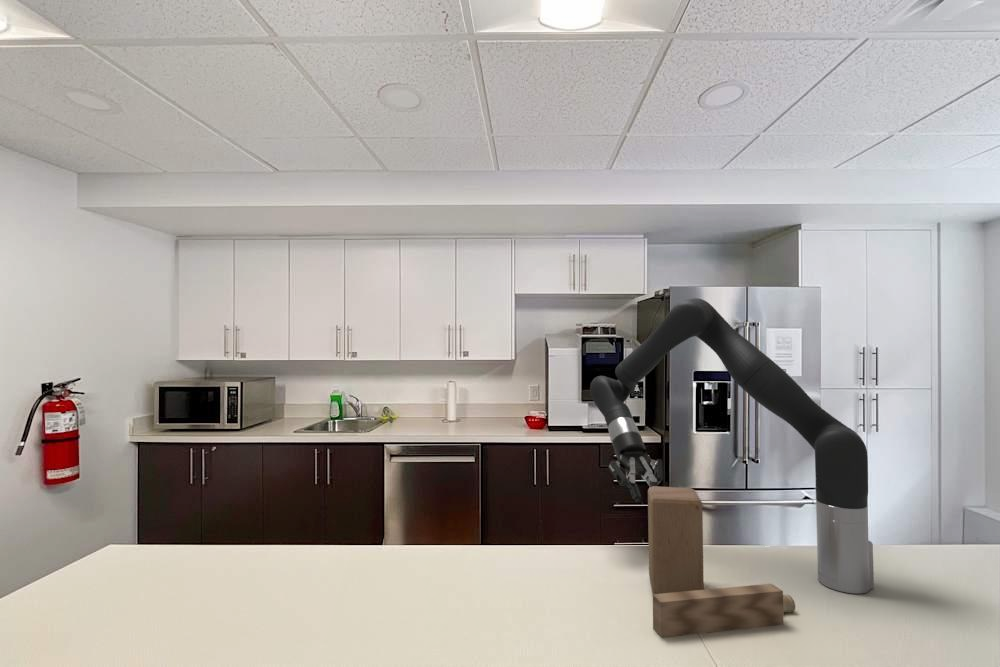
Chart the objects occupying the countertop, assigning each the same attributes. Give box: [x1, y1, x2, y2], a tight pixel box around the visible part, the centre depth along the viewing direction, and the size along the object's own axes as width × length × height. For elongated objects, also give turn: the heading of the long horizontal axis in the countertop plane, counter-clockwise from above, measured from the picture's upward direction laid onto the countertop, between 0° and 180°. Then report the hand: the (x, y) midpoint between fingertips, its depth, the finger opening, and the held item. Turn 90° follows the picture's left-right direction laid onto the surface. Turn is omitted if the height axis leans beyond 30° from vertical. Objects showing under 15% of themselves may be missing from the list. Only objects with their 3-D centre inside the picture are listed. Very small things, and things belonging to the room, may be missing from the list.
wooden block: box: [647, 485, 705, 594], centre depth 109 cm, size 10×10×20 cm
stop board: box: [652, 583, 785, 638], centre depth 93 cm, size 24×3×6 cm, turn 100°
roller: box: [783, 593, 796, 614], centre depth 98 cm, size 10×3×3 cm, turn 100°
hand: (648, 499), depth 121 cm, fingers open, 4 cm apart
